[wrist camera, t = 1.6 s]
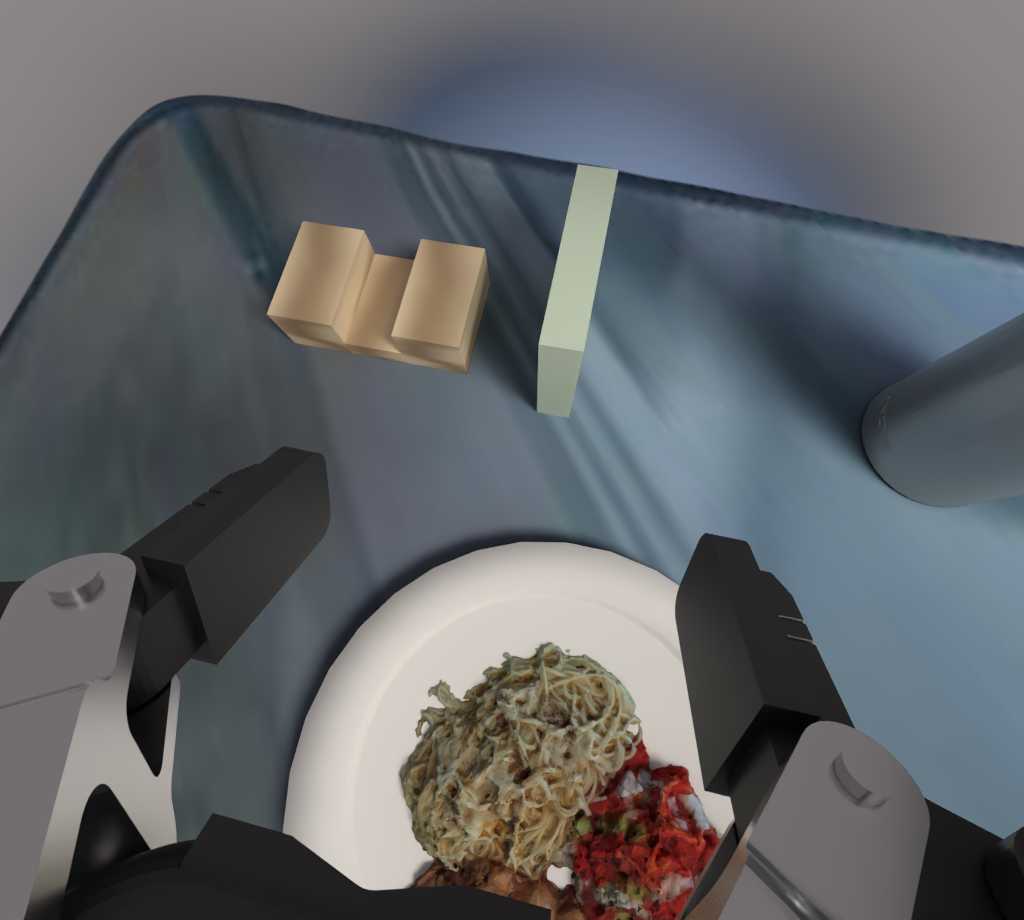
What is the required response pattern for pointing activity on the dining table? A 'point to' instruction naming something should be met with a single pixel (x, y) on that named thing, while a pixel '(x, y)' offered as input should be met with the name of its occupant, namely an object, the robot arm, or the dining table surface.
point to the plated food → (514, 739)
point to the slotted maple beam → (382, 298)
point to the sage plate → (573, 289)
